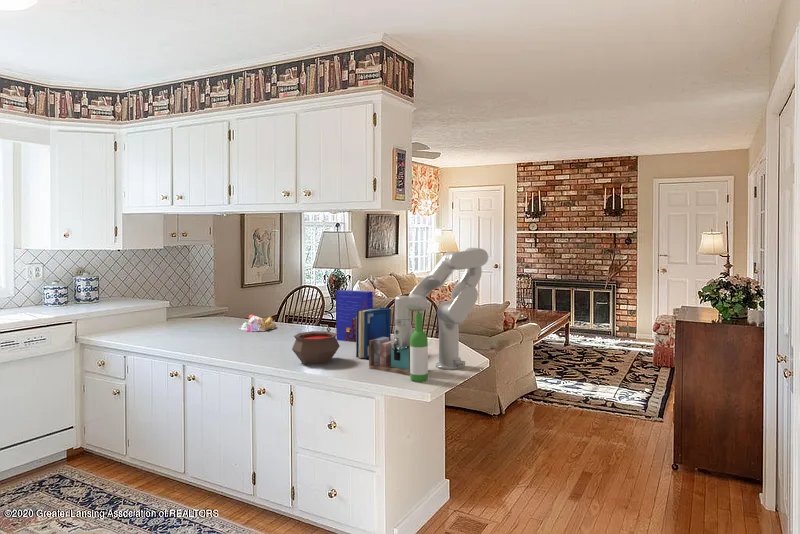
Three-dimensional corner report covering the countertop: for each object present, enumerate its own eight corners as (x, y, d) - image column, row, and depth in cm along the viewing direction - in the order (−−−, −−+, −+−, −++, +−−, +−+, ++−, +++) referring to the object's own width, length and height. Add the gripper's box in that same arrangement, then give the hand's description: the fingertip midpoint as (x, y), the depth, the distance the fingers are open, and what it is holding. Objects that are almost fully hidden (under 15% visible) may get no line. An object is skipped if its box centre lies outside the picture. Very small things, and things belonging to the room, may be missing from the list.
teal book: (415, 367, 265) (415, 348, 264) (410, 369, 261) (410, 350, 261) (396, 364, 271) (396, 346, 271) (391, 366, 267) (390, 347, 267)
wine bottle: (429, 378, 252) (429, 311, 250) (426, 383, 244) (426, 314, 242) (412, 377, 253) (411, 311, 251) (408, 382, 246) (408, 313, 244)
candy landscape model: (282, 326, 388) (281, 313, 388) (267, 332, 365) (266, 318, 365) (248, 325, 394) (248, 312, 393) (231, 331, 371) (231, 317, 370)
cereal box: (373, 341, 335) (372, 291, 332) (368, 343, 329) (367, 292, 327) (341, 338, 344) (341, 289, 342) (336, 340, 339) (335, 290, 337)
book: (382, 350, 309) (382, 305, 307) (392, 352, 304) (392, 306, 303) (355, 358, 292) (354, 310, 290) (365, 359, 288) (364, 311, 286)
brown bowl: (312, 354, 301) (312, 324, 300) (349, 359, 289) (349, 327, 288) (282, 363, 281) (281, 331, 279) (320, 369, 268) (319, 335, 267)
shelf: (425, 370, 266) (424, 341, 265) (411, 375, 257) (410, 345, 256) (384, 363, 280) (383, 335, 279) (369, 368, 270) (368, 339, 269)
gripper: (399, 325, 255) (399, 363, 257) (419, 320, 270) (419, 355, 271) (385, 324, 260) (385, 360, 261) (406, 319, 274) (406, 353, 275)
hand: (403, 358), depth 266 cm, fingers open, 9 cm apart
